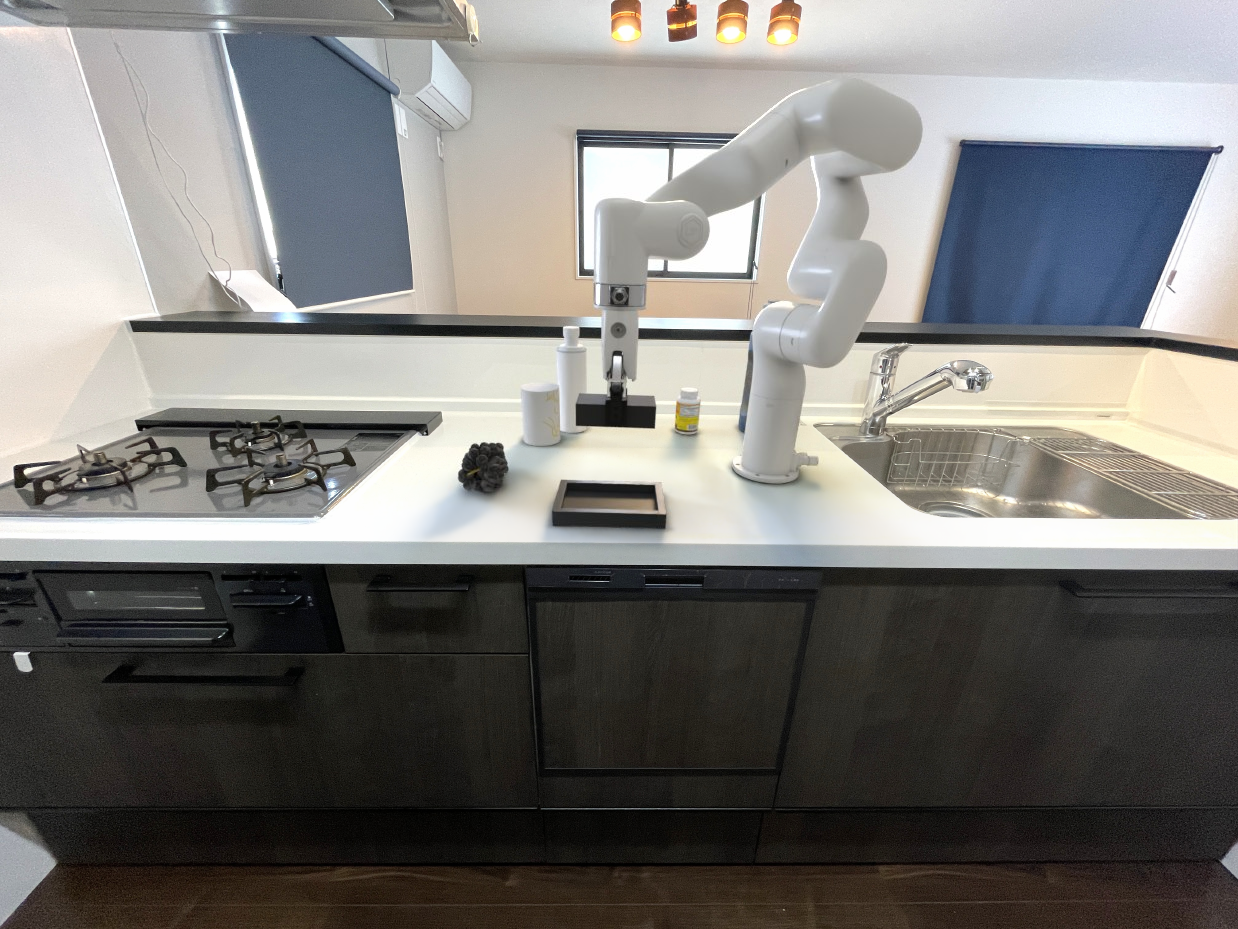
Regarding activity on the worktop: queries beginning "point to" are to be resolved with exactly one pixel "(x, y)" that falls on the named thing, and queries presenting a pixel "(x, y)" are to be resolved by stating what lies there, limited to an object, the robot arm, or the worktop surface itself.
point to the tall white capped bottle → (571, 378)
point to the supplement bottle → (687, 411)
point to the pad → (638, 411)
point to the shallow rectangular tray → (609, 504)
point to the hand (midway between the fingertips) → (616, 417)
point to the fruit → (483, 467)
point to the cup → (541, 413)
